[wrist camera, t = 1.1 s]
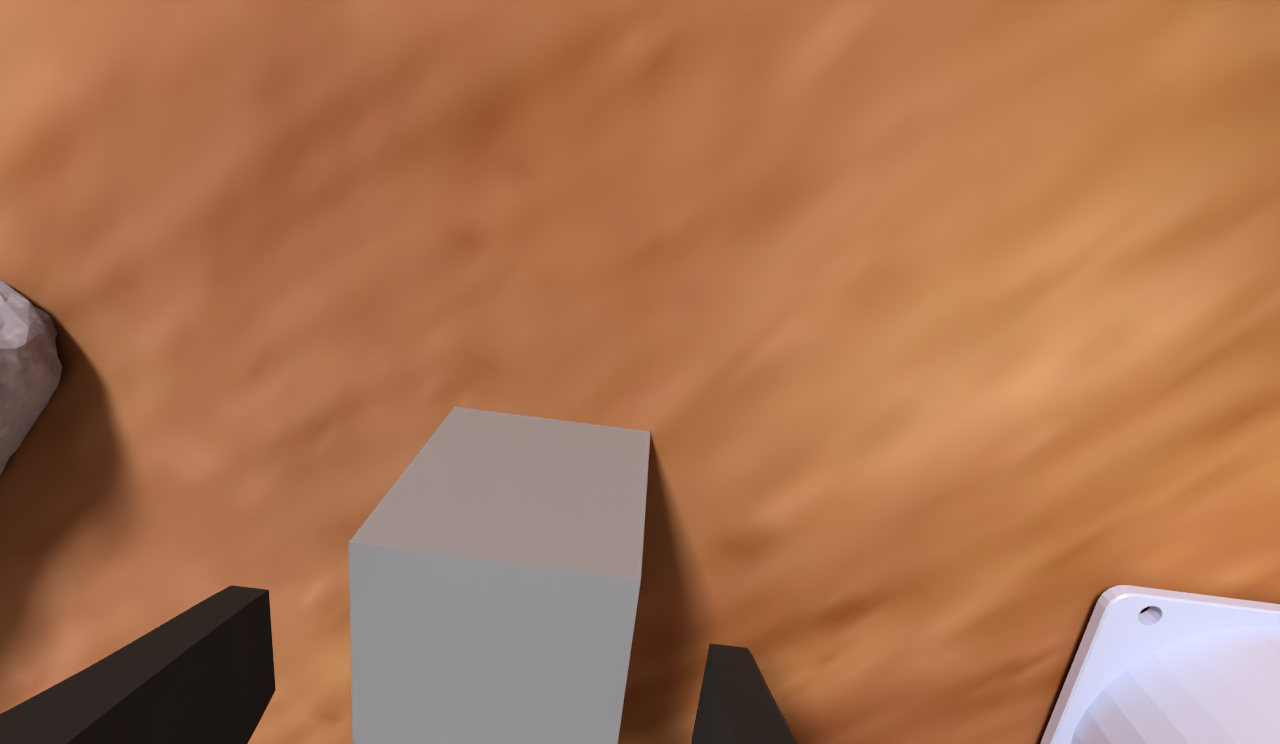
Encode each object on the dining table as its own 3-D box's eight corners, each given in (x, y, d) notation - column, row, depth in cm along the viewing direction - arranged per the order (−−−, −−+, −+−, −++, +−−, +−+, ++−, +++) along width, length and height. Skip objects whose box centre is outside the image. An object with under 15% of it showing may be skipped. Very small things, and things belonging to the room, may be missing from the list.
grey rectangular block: (650, 430, 16) (640, 579, 10) (628, 594, 17) (609, 797, 12) (455, 405, 16) (348, 542, 10) (449, 572, 17) (353, 764, 12)
